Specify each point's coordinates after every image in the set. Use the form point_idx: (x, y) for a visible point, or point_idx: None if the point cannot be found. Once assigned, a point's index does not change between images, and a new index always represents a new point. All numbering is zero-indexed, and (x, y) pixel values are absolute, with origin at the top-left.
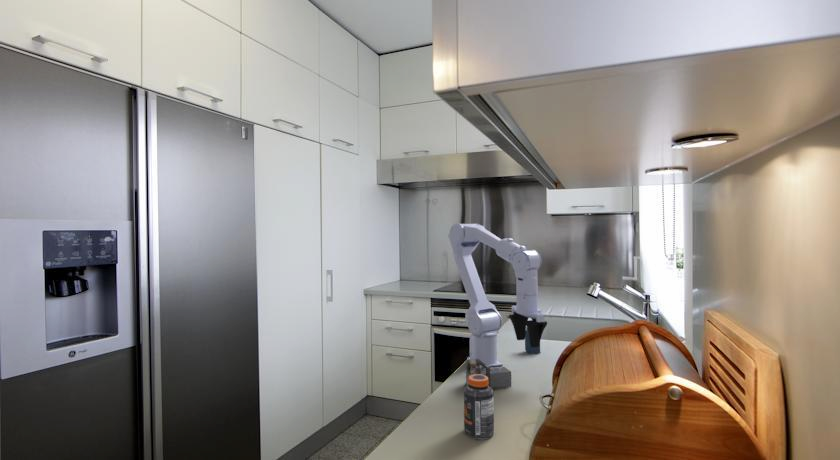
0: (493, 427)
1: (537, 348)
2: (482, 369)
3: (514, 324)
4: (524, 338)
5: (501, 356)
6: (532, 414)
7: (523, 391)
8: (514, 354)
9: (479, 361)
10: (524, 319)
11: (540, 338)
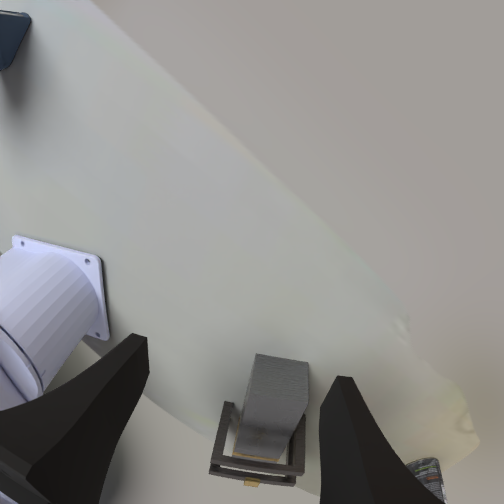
0: (439, 467)
1: (13, 27)
2: (241, 439)
3: (104, 469)
4: (144, 344)
5: (14, 189)
6: (453, 400)
7: (360, 356)
8: (7, 126)
9: (238, 467)
10: (69, 462)
11: (373, 422)
